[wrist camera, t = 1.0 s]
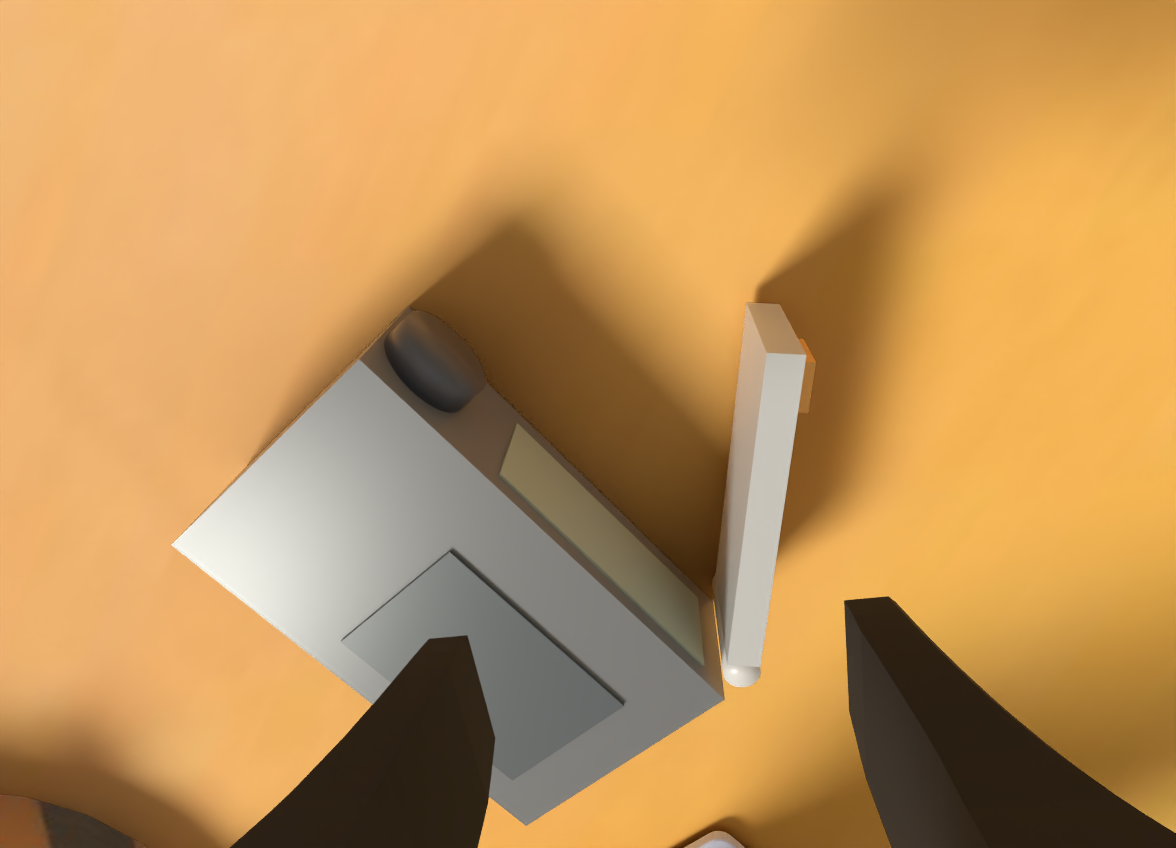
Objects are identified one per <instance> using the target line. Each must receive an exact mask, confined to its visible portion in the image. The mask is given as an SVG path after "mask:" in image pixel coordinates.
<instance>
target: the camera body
mask: <svg viewBox="0 0 1176 848" xmlns="http://www.w3.org/2000/svg"><path fill="white" fill-rule="evenodd" d="M172 546H173V547H174V548H176V549H177V550H178V551H179V552H181V553H182V554H183V555H184V556H186V557H187V558H188V559H190V560H191V561H192V562H193V563H195V564H196V565H197V566H198V567H200V568H201V569H202V570H203V571H205V572H206V573H207V574H208V575H210V576H211V577H212V578H214V579H215V580H216V581H217V582H219V583H220V584H221V585H222V586H224V587H225V588H226V589H227V590H229V591H230V592H231V593H232V594H234V595H235V596H236V597H238V598H239V599H240V600H241V601H243V602H244V603H245V604H246V605H248V606H249V607H250V608H251V609H253V610H254V611H255V612H257V613H258V614H259V615H260V616H262V617H263V618H264V619H265V620H267V621H268V622H269V623H270V624H272V625H273V626H274V627H275V628H277V629H278V630H279V631H281V632H282V633H283V634H284V635H286V636H287V637H288V638H289V639H291V640H292V641H293V642H294V643H296V644H297V645H298V646H299V647H301V648H302V649H303V650H305V651H306V652H307V653H308V654H310V655H311V656H312V657H313V658H315V659H316V660H317V661H318V662H320V663H321V664H322V665H323V666H325V667H326V668H327V669H329V670H330V671H331V672H332V673H334V674H335V675H336V676H337V677H339V678H340V679H341V680H342V681H344V682H345V683H346V684H348V685H349V686H350V687H351V688H353V689H354V690H355V691H356V692H358V693H359V694H360V695H361V696H363V697H364V698H365V699H366V700H368V701H369V702H370V703H372V704H374V702H375V701H376V700H377V699H378V698H379V697H380V695H381V694H382V693H383V692H384V691H385V690H386V688H387V687H388V686H389V685H390V684H391V682H392V681H393V680H394V679H395V678H396V677H397V675H398V674H399V673H400V672H401V671H402V669H403V668H404V667H405V666H406V665H407V664H408V662H409V661H410V660H411V659H412V658H413V656H414V655H415V654H416V653H417V652H418V651H419V649H420V648H421V647H422V646H423V645H424V644H425V643H426V642H427V640H428V639H431V638H442V637H453V636H464V635H468V639H469V642H470V646H471V650H472V654H473V657H474V661H475V665H476V668H477V672H478V676H479V679H480V683H481V687H482V690H483V694H484V698H485V702H486V705H487V709H488V713H489V716H490V720H491V724H492V727H493V731H494V735H495V746H494V755H493V765H492V774H491V782H490V790H489V797H490V798H492V799H493V800H494V801H495V802H497V803H498V804H499V805H500V806H502V807H503V808H504V809H505V810H507V811H508V812H509V813H511V814H512V815H513V816H514V817H516V818H517V819H518V820H519V821H521V822H522V823H523V824H524V825H526V826H527V825H528V824H530V823H531V822H533V821H534V820H536V819H538V818H539V817H541V816H542V815H544V814H545V813H547V812H549V811H550V810H552V809H553V808H555V807H556V806H558V805H560V804H561V803H563V802H564V801H566V800H567V799H569V798H571V797H572V796H574V795H575V794H577V793H578V792H580V791H582V790H583V789H585V788H586V787H588V786H589V785H591V784H593V783H594V782H596V781H597V780H599V779H600V778H602V777H603V776H605V775H607V774H608V773H610V772H611V771H613V770H614V769H616V768H618V767H619V766H621V765H622V764H624V763H625V762H627V761H629V760H630V759H632V758H633V757H635V756H636V755H638V754H640V753H641V752H643V751H644V750H646V749H647V748H649V747H651V746H652V745H654V744H655V743H657V742H658V741H660V740H662V739H663V738H665V737H666V736H668V735H669V734H671V733H673V732H674V731H676V730H677V729H679V728H680V727H682V726H683V725H685V724H687V723H688V722H690V721H691V720H693V719H694V718H696V717H698V716H699V715H701V714H702V713H704V712H705V711H707V710H709V709H710V708H712V707H713V706H715V705H716V704H718V703H720V702H721V701H723V700H724V699H725V698H724V690H723V682H722V674H721V665H720V657H719V649H718V641H717V632H716V624H715V616H714V608H713V601H712V600H711V599H710V598H709V597H708V596H706V595H705V594H704V593H703V592H702V591H701V590H700V589H699V588H698V587H697V586H696V585H695V584H694V583H693V582H692V581H691V580H690V579H689V578H688V577H687V576H686V575H685V574H684V573H683V572H682V571H681V570H680V569H679V568H678V567H677V566H676V565H675V564H674V563H673V562H672V561H670V560H669V559H668V558H667V557H666V556H665V555H664V554H663V553H662V552H661V551H660V550H659V549H658V548H657V547H656V546H655V545H654V544H653V543H652V542H651V541H650V540H649V539H648V538H647V537H646V536H645V535H644V534H643V533H642V532H641V531H640V530H639V529H638V528H637V527H636V526H634V525H633V524H632V523H631V522H630V521H629V520H628V519H627V518H626V517H625V516H624V515H623V514H622V513H621V512H620V511H619V510H618V509H617V508H616V507H615V506H614V505H613V504H612V503H611V502H610V501H609V500H608V499H607V498H606V497H605V496H604V495H603V494H602V493H601V492H600V491H598V490H597V489H596V488H595V487H594V486H593V485H592V484H591V483H590V482H589V481H588V480H587V479H586V478H585V477H584V476H583V475H582V474H581V473H580V472H579V471H578V470H577V469H576V468H575V467H574V466H573V465H572V464H571V463H570V462H569V461H568V460H567V459H566V458H565V457H564V456H562V455H561V454H560V453H559V452H558V451H557V450H556V449H555V448H554V447H553V446H552V445H551V444H550V443H549V442H548V441H547V440H546V439H545V438H544V437H543V436H542V435H541V434H540V433H539V432H538V431H537V430H536V429H535V428H534V427H533V426H532V425H531V424H530V423H529V422H528V421H527V420H525V419H524V418H523V417H522V416H521V415H520V414H519V413H518V412H517V411H516V410H515V409H514V408H513V407H512V406H511V405H510V404H509V403H508V402H507V401H506V400H505V399H504V398H503V397H502V396H501V395H500V394H499V393H498V392H497V391H496V390H495V389H494V388H493V387H492V386H491V385H489V384H488V383H487V382H486V375H485V371H484V369H483V366H482V364H481V362H480V361H479V359H478V357H477V356H476V354H475V353H474V351H473V350H472V349H471V347H470V346H469V345H468V344H467V342H466V341H465V340H464V339H463V338H462V337H461V336H460V335H459V334H458V333H457V332H456V331H455V330H454V329H452V328H451V327H450V326H449V325H448V324H446V323H445V322H444V321H442V320H441V319H439V318H437V317H436V316H434V315H432V314H430V313H427V312H424V311H419V310H417V311H413V310H412V309H411V308H410V307H409V306H408V307H407V308H406V309H405V310H404V311H403V312H402V313H401V314H400V315H399V316H398V317H397V318H396V319H395V320H394V321H393V322H392V323H391V324H390V325H389V326H388V327H387V328H386V329H385V330H384V331H383V332H382V333H381V334H380V335H379V336H378V337H377V338H376V339H375V340H374V341H373V342H372V343H371V344H370V345H369V346H368V347H367V348H366V349H365V350H364V351H363V352H362V353H361V354H360V355H359V356H358V357H357V358H356V359H355V360H354V361H353V362H352V363H350V364H349V365H348V366H347V367H346V368H345V369H344V370H343V371H342V372H341V373H340V374H339V375H338V376H337V377H336V378H335V379H334V380H333V381H332V382H331V383H330V384H329V385H328V386H327V387H326V388H325V389H324V390H323V391H322V392H321V393H320V394H319V395H318V396H317V397H316V398H315V399H314V400H313V401H312V402H311V403H310V404H309V405H308V406H307V407H306V408H305V409H304V410H303V411H302V412H301V413H300V414H299V415H298V416H297V417H296V418H295V419H294V420H293V421H292V422H291V423H290V424H289V425H288V426H287V427H286V428H285V429H284V430H283V431H282V432H281V433H280V434H279V435H278V436H277V437H276V438H275V439H274V440H273V441H272V442H271V443H270V444H269V445H268V446H267V447H266V448H265V449H264V450H263V451H262V452H261V453H260V454H259V455H258V456H257V457H256V458H255V459H254V460H253V461H252V462H251V463H250V464H249V465H248V466H247V467H246V468H245V469H244V470H243V471H242V472H241V473H240V474H239V475H238V476H237V477H236V478H235V479H234V480H233V481H232V482H231V483H230V484H229V485H228V486H227V487H226V488H225V489H224V490H223V492H222V493H221V494H220V495H219V496H218V497H217V498H216V499H215V500H214V501H213V502H212V503H211V504H210V505H209V506H208V507H207V508H206V509H205V510H204V511H203V512H202V513H201V514H200V516H199V517H198V518H197V519H196V520H195V521H194V522H193V523H192V524H191V525H190V526H189V527H188V528H187V529H186V530H185V531H184V532H183V533H182V534H181V535H180V536H179V537H178V538H177V539H176V541H175V542H174V543H173V544H172Z"/></svg>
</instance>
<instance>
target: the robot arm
mask: <svg viewBox="0 0 1176 848" xmlns="http://www.w3.org/2000/svg"><path fill="white" fill-rule="evenodd" d="M844 604H845V626H846V649H847V671H848V693H849V712H850V716H851V720H852V724H853V728H854V732H855V736H856V740H857V744H858V749H859V752H860V756H861V760H862V764H863V768H864V772H865V776H866V779H867V782H868V785H869V788H870V790H871V793H872V796H873V799H874V801H875V804H876V807H877V809H878V812H879V815H880V818H881V820H882V823H883V826H884V828H885V831H886V834H887V836H888V839H889V842H890V844H891V847H892V848H1176V833H1174V832H1173V831H1171V830H1169V829H1168V828H1166V827H1165V826H1163V825H1161V824H1160V823H1158V822H1156V821H1155V820H1153V819H1152V818H1150V817H1148V816H1147V815H1145V814H1144V813H1142V812H1141V811H1139V810H1138V809H1136V808H1134V807H1133V806H1131V805H1130V804H1128V803H1127V802H1125V801H1124V800H1122V799H1121V798H1119V797H1118V796H1116V795H1115V794H1113V793H1112V792H1111V791H1109V790H1108V789H1106V788H1105V787H1104V786H1102V785H1101V784H1099V783H1098V782H1097V781H1095V780H1094V779H1092V778H1091V777H1090V776H1088V775H1087V774H1085V773H1084V772H1083V771H1081V770H1080V769H1078V768H1077V767H1076V766H1075V765H1073V764H1072V763H1071V762H1069V761H1068V760H1067V759H1065V758H1064V757H1063V756H1061V755H1060V754H1059V753H1058V752H1056V751H1055V750H1054V749H1052V748H1051V747H1050V746H1049V745H1047V744H1046V743H1045V742H1044V741H1042V740H1041V739H1040V738H1039V737H1038V736H1036V735H1035V734H1034V733H1033V732H1031V731H1030V730H1029V729H1028V728H1027V727H1025V726H1024V725H1023V724H1022V723H1021V722H1019V721H1018V720H1017V719H1016V718H1015V717H1013V716H1012V715H1011V714H1010V713H1009V712H1008V711H1006V710H1005V709H1004V708H1003V707H1002V706H1001V705H1000V704H998V703H997V702H996V701H995V700H994V699H993V698H992V697H991V696H990V695H988V694H987V693H986V692H985V691H984V690H983V689H982V688H981V687H980V686H979V685H978V684H977V683H975V682H974V681H973V680H972V679H971V678H970V677H969V676H968V675H967V674H966V673H965V672H963V671H962V670H961V669H960V668H959V667H958V666H957V665H956V664H955V663H954V662H953V661H952V660H951V659H950V658H949V657H948V656H947V655H946V654H945V653H944V652H943V651H942V650H941V649H940V648H939V647H938V646H937V645H936V644H935V643H934V642H933V641H932V640H931V639H930V638H929V637H928V636H927V635H926V634H925V633H924V632H923V631H922V630H921V629H920V628H919V627H918V626H917V624H916V623H915V622H914V621H913V620H912V619H911V618H910V617H909V616H908V615H907V614H906V613H905V612H904V611H903V609H902V608H901V607H900V606H899V605H898V604H897V603H896V602H895V601H893V600H892V599H891V598H890V597H877V598H867V599H856V600H845V601H844ZM494 746H495V735H494V731H493V727H492V724H491V720H490V716H489V713H488V709H487V705H486V702H485V698H484V694H483V690H482V687H481V683H480V679H479V676H478V672H477V668H476V665H475V661H474V657H473V654H472V650H471V646H470V642H469V639H468V635H464V636H453V637H442V638H431V639H428V640H427V642H426V643H425V644H424V645H423V646H422V647H421V648H420V649H419V651H418V652H417V653H416V654H415V655H414V656H413V658H412V659H411V660H410V661H409V662H408V664H407V665H406V666H405V667H404V668H403V669H402V671H401V672H400V673H399V674H398V675H397V677H396V678H395V679H394V680H393V681H392V682H391V684H390V685H389V686H388V687H387V688H386V690H385V691H384V692H383V693H382V694H381V695H380V697H379V698H378V699H377V700H376V701H375V702H374V704H373V705H372V706H371V707H370V708H369V709H368V710H367V712H366V713H365V714H364V715H363V716H362V717H361V718H360V720H359V721H358V722H357V723H356V724H355V725H354V726H353V728H352V729H351V730H350V731H349V732H348V733H347V734H346V735H345V737H344V738H343V739H342V740H341V741H340V742H339V743H338V744H337V745H336V746H335V747H334V748H333V749H332V750H331V751H330V752H329V753H328V754H327V755H326V756H325V758H324V759H323V760H322V761H321V762H320V763H319V764H318V765H317V766H316V767H315V768H314V769H313V770H312V771H311V772H310V773H309V774H308V775H307V776H306V777H305V778H304V779H303V781H302V782H301V783H300V784H299V785H298V786H297V787H296V788H295V789H294V790H293V791H292V792H291V793H290V794H289V795H287V796H286V797H285V798H284V799H283V800H282V801H281V802H280V803H279V804H278V805H277V806H276V807H275V808H274V809H273V810H272V811H271V812H270V813H268V814H267V815H266V816H265V817H264V818H263V819H262V820H261V821H259V822H258V823H257V824H256V825H255V826H254V827H253V828H252V829H250V830H249V831H248V832H247V833H246V834H245V835H244V836H243V837H241V838H240V839H239V840H238V841H237V842H236V843H235V844H233V845H232V846H231V847H230V848H477V847H478V843H479V839H480V835H481V831H482V826H483V822H484V818H485V814H486V809H487V805H488V798H489V790H490V782H491V774H492V765H493V755H494ZM684 848H745V847H744V846H742V845H741V844H740V843H739V842H738V841H737V840H735V839H734V838H733V837H732V836H731V835H729V834H728V833H726V832H723V831H714V832H711V833H709V834H707V835H705V836H703V837H702V838H700V839H698V840H697V841H695V842H693V843H691V844H690V845H688V846H686V847H684Z"/></svg>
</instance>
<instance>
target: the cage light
mask: <svg viewBox="0 0 1176 848" xmlns="http://www.w3.org/2000/svg"><path fill="white" fill-rule="evenodd" d="M0 848H148V847H146V846H145V845H143V844H141V843H139V842H138V841H136V840H134V839H132V838H130V837H128V836H126V835H124V834H122V833H121V832H119V831H117V830H115V829H113V828H111V827H109V826H107V825H105V824H104V823H102V822H100V821H98V820H96V819H94V818H92V817H90V816H88V815H85V814H82V813H79V812H75V811H72V810H69V809H65V808H62V807H59V806H55V805H52V804H49V803H45V802H42V801H39V800H35V799H32V798H28V797H25V796H14V795H2V794H0Z"/></svg>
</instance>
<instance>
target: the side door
mask: <svg viewBox="0 0 1176 848" xmlns="http://www.w3.org/2000/svg"><path fill="white" fill-rule="evenodd" d="M815 367H816V361H815V359H814V358H813V356H812V354H811V352H810V350H809V348H808V347H807V345H806V343H805V341H804V339H798V338H797V336H796V334H795V332H794V330H793V328H792V326H791V325H790V323H789V321H788V319H787V317H786V315H785V313H784V311H783V309H782V307H781V306H780V304H770V303H749V302H747V303H746V311H745V320H744V329H743V338H742V347H741V356H740V364H739V373H738V382H737V391H736V400H735V409H734V417H733V426H732V435H731V444H730V453H729V461H728V470H727V479H726V488H725V497H724V506H723V514H722V523H721V532H720V541H719V550H718V559H717V567H716V574H715V576H714V577H713V580H712V586H713V594H714V602H715V610H716V618H717V626H718V634H719V642H720V650H721V658H722V666H723V674H724V678H725V680H726V681H727V682H728V683H729V684H731V685H733V686H736V687H747V686H750V685H752V684H754V683H755V682H756V681H757V680H758V679H759V677H760V673H761V672H760V666H761V659H762V652H763V645H764V639H765V632H766V625H767V618H768V612H769V605H770V598H771V591H772V585H773V578H774V571H775V564H776V558H777V551H778V544H779V537H780V531H781V524H782V517H783V510H784V504H785V497H786V490H787V483H788V477H789V470H790V463H791V456H792V450H793V443H794V436H795V429H796V423H797V416H798V413H808V412H809V406H810V399H811V393H812V386H813V380H814V373H815Z"/></svg>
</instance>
